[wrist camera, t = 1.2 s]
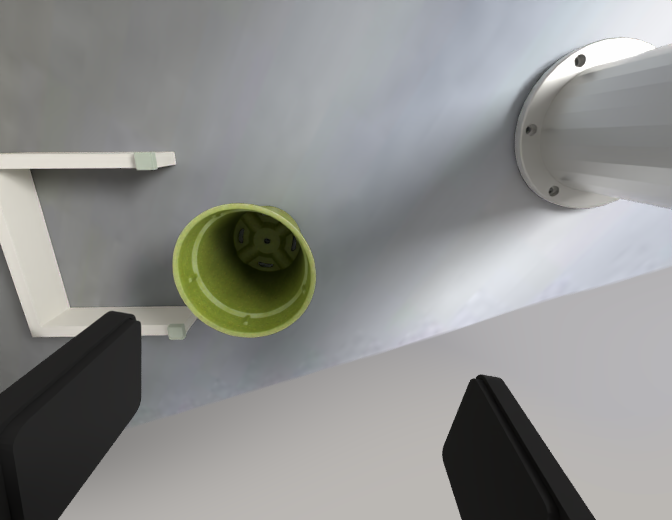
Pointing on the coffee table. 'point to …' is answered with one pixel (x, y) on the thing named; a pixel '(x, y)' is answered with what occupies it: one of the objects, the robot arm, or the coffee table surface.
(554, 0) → the coffee table surface
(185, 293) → the plant pot
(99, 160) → the corral
